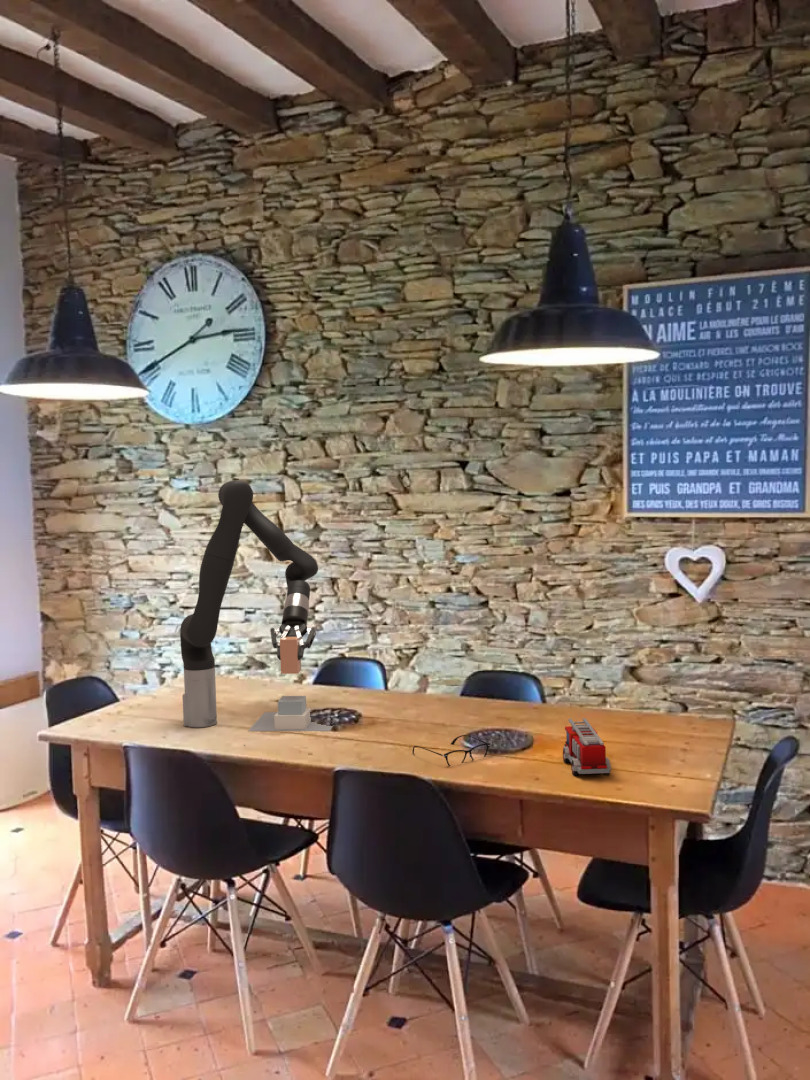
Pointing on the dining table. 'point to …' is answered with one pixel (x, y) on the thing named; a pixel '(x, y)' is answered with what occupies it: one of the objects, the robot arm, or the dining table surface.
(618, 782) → the dining table surface
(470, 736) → the eyeglasses
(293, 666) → the terracotta brick
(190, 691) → the robot arm
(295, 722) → the tower base
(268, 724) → the baseplate
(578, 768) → the toy fire truck
